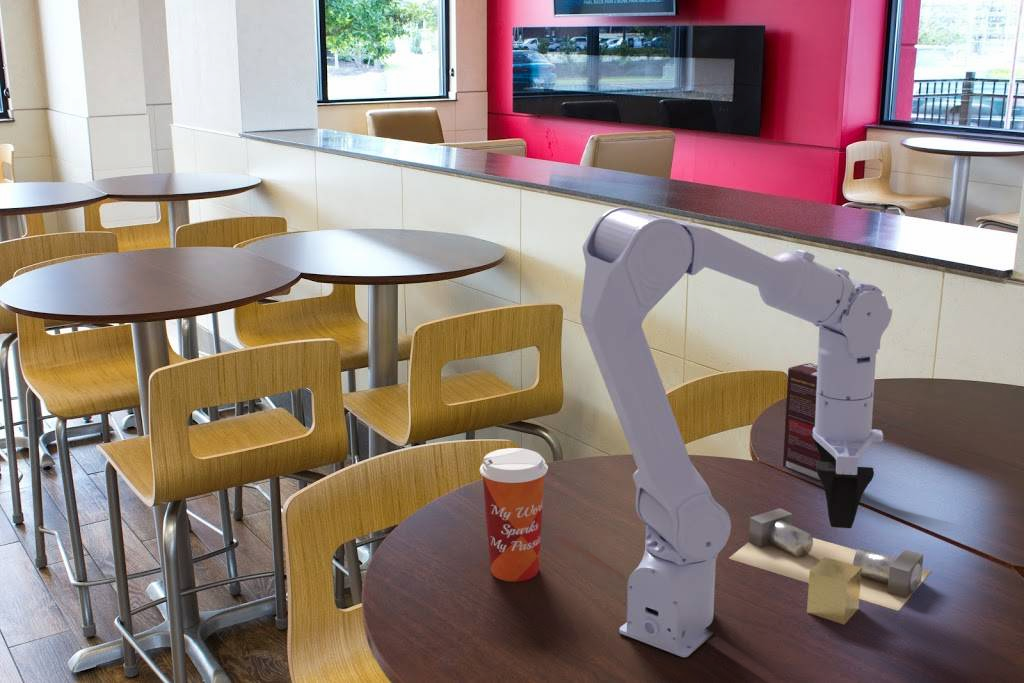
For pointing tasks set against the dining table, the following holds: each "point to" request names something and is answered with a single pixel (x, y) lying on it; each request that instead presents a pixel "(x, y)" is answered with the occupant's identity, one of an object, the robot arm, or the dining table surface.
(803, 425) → the supplement box
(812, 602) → the yellow rectangular block
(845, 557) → the board
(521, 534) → the paper cup
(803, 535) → the shaft angled
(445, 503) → the dining table surface
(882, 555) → the shaft straight
